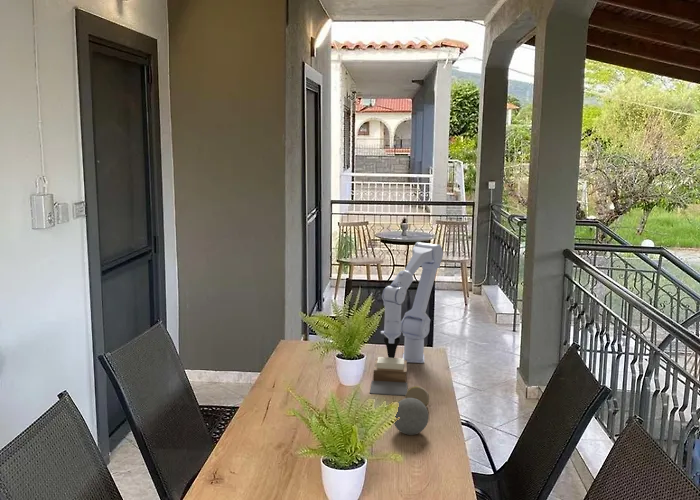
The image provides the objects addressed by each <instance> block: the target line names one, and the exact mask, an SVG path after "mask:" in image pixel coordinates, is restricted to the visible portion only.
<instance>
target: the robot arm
mask: <svg viewBox="0 0 700 500" xmlns="http://www.w3.org/2000/svg"><path fill="white" fill-rule="evenodd" d="M411 253H412V256H411V257H410V259H409V261H408V263H407V265H406V266H405V268H404V270H400V271H399V272H398V273H397V275H396V277H395V278H394V279H393V280H392V282H391V284H389V285H386V286H385V288H384V289H383V290H382V294H381V299H382V301H383V307H384V323H383V324H384V327H383V330H380V334H381V335H384V337H383V341H384V344H385V346H386V352H387V358H396V352H397V348H398V346H399V344H400V342H401V335H402V336H404V342H403V344H404V345H403V346H404V347H403V348H404V349H403V353H402V358H404V360H407V363H417V364H425V349H424V348H425V338H426V337H427V336H428V335H429V333H430V329H431V328H430V327H431V326H430V324H431V319H430V317H429V315H428V314H427V312H426V311H427V308H428V304H429V300H430V296H431V292H432V289H433V286H434V282H435V278H436V274H437V271H438V269H439V268H440V267H441V264H442V260H443V256H444V251H443V247H442V246H441V244H438V243H437V244H434V243H429V242H421V241H416V242H415V244H414V245H413V247H412V252H411ZM420 267H421V268H422V271H421V275H420V278H419V281H418V286H417V289H416V292H415V293H416V294H415V296H414V300H413V302H412V303H413V304H412V307H411V309H409V310H407V311H405V313H404V315H403V318H402V304H403V303H404V301H405V299H406V295H407V291H408V289H409V288H410V286H411V284H412V283H413V281H414V275H415V273H416V272H417V271H418V270H419V269H420Z"/></svg>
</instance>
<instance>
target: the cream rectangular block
mask: <svg viewBox="0 0 700 500" xmlns="http://www.w3.org/2000/svg"><path fill="white" fill-rule="evenodd" d="M377 359H378V361H377V368H380V369H398V370H404V358H403V357H394V358H389V357H388V356H385V357H383V356H378V357H377Z"/></svg>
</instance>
